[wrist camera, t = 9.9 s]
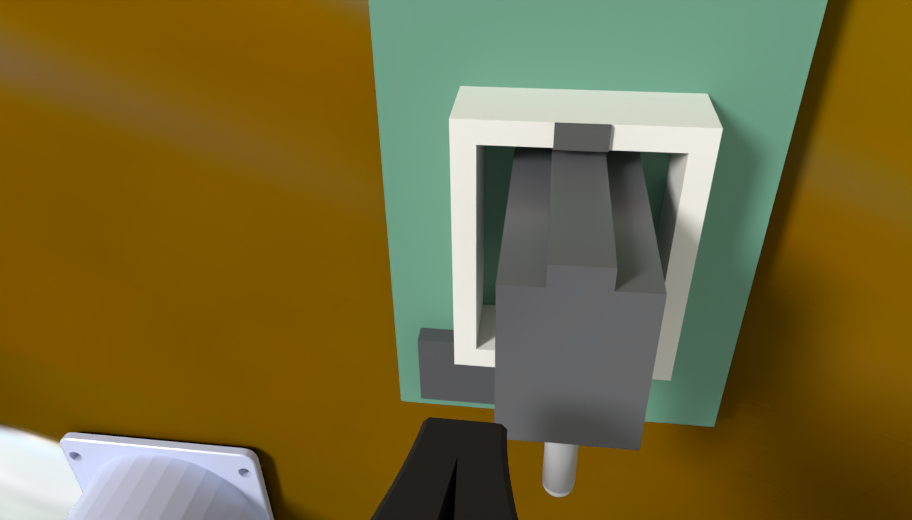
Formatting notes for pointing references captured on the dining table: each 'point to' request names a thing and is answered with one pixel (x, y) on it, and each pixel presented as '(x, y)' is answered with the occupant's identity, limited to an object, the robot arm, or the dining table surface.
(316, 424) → the dining table surface
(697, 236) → the board
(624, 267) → the plug
